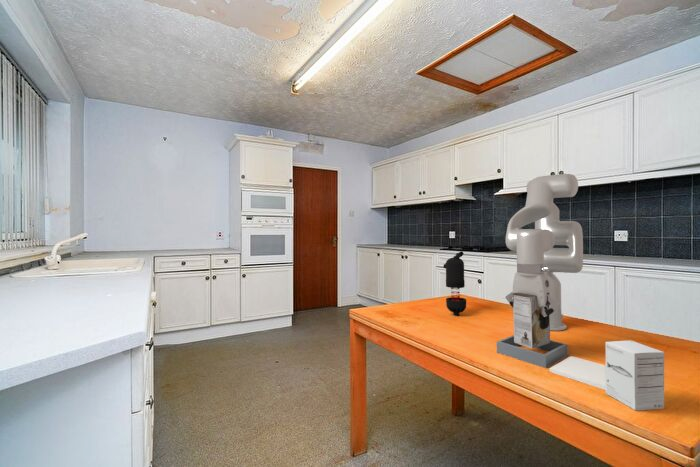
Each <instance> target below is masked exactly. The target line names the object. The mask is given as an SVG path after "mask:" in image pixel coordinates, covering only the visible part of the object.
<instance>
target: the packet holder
mask: <svg viewBox="0 0 700 467" xmlns="http://www.w3.org/2000/svg"><path fill="white" fill-rule="evenodd" d="M519 345H520V344H517V343H514V334H513V335H510V336H508V337H505V338H503V339H500V340H498V341H496V353H497V354H500V355H504V356H507V357H511V358H513V359H517V360H519V361H522V362H526V363H528V364H532V365H535V366H538V367H541V368H545V369H547V368H549V367H552V366H553V365H555V364H557V362H558V363H559V361H562V359H563V360H564V359H566V357H567V358H568V357H569V347H568V346H569V345H568V344H567V343H564V342H559V341H556V340H551V339H550V343H548V344H545V345H542V346H539V347H536V348H535V349H538V350H543V351H546V353H542V352H539V351H538V352H537V351H533V350H530V349H527V348H523V347H521V346H520V347H519Z"/></svg>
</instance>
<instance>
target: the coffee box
mask: <svg viewBox="0 0 700 467" xmlns="http://www.w3.org/2000/svg"><path fill="white" fill-rule="evenodd" d="M512 299H513V307H512V311H513V314H512V316H513V335H514V343H517V344H520V345H521V346H523V347H526V348H528V349H529V348H530V349H537V348H536V347H539V346H542V345H545V344H548V343H550V340H551V330H550V318H549V326H548V328H546V329H541V320H540V317H541V316H542V313H541V311H540V309H539V307H538V303H537V296H536V295H529V294H524V293H513V297H512ZM546 305H547V304H546ZM547 307H548V309H549V305H547Z"/></svg>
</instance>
